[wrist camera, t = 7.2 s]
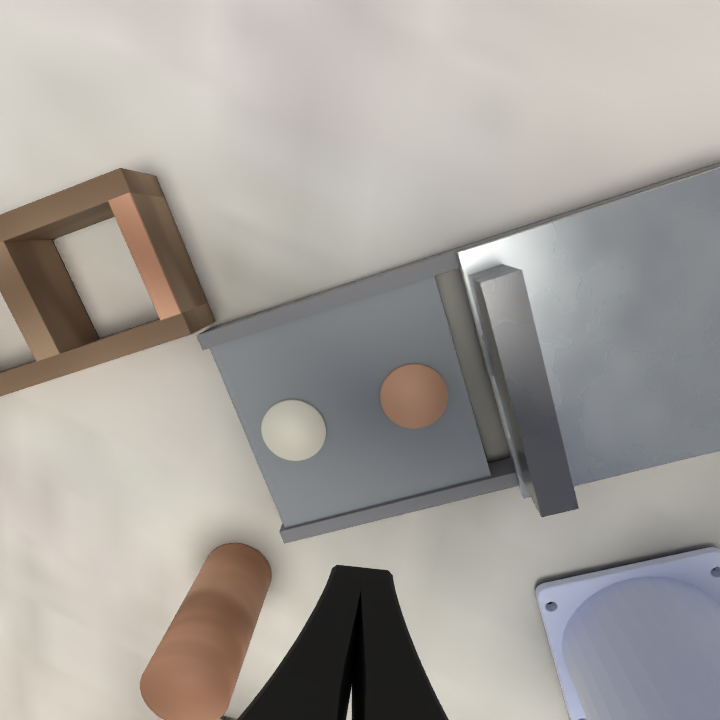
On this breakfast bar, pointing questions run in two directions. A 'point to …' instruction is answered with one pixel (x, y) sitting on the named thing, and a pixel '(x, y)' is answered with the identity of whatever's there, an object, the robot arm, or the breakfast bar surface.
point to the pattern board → (361, 398)
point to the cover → (604, 337)
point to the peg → (208, 637)
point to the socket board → (57, 293)
